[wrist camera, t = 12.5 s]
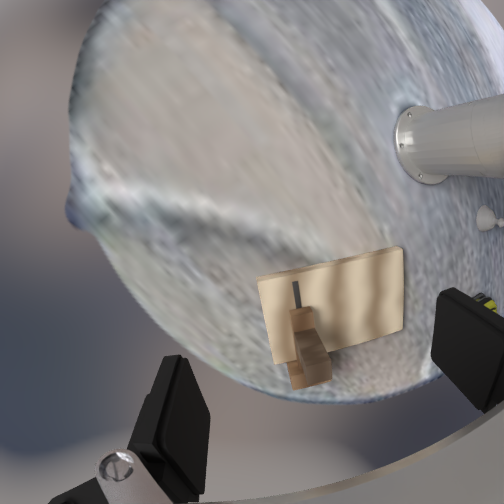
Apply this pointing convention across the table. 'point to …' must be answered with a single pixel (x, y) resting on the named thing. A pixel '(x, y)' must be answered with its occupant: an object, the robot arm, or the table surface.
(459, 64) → the table surface
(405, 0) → the table surface
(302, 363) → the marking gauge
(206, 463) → the robot arm
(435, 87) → the table surface
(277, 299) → the birch board
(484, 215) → the chalice
